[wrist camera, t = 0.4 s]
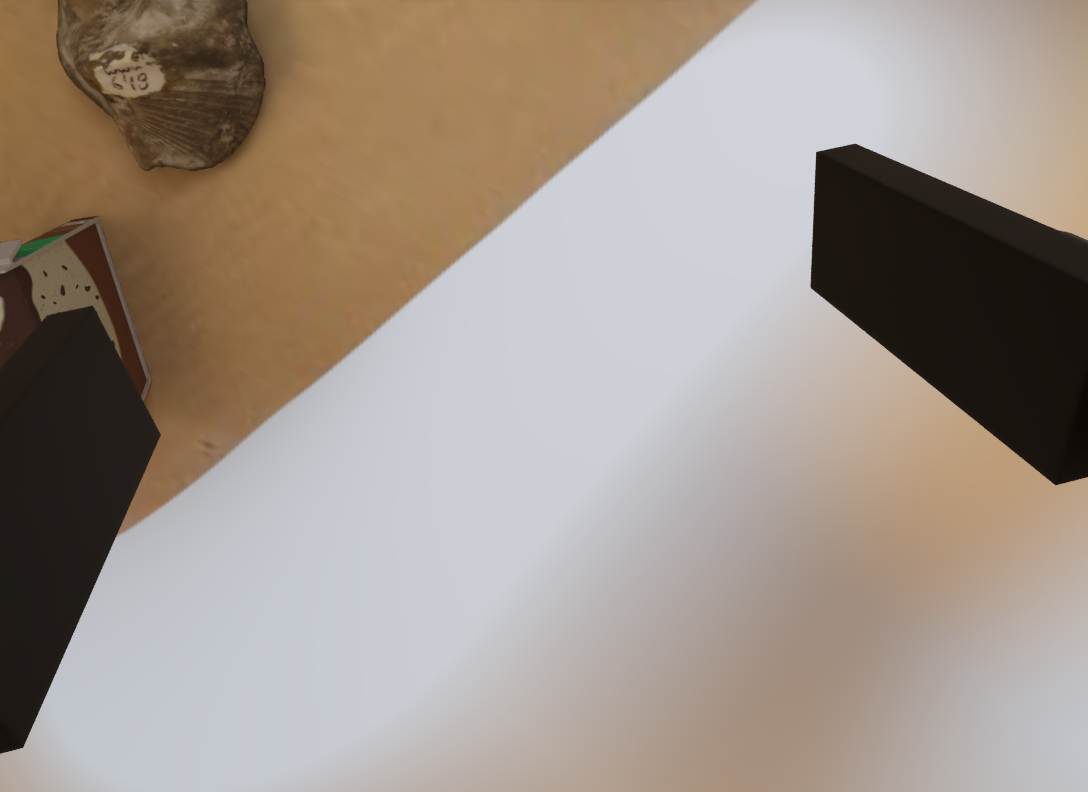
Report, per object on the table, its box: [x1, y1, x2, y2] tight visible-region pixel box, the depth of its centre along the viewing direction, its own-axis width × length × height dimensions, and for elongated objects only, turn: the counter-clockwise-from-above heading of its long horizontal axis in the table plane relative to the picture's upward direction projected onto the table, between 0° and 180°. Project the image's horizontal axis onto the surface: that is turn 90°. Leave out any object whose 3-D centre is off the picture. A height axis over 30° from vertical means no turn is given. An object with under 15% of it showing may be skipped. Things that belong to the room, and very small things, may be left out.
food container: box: [0, 216, 152, 402], centre depth 35 cm, size 12×6×10 cm, turn 1°
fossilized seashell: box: [56, 0, 265, 171], centre depth 32 cm, size 8×7×10 cm
